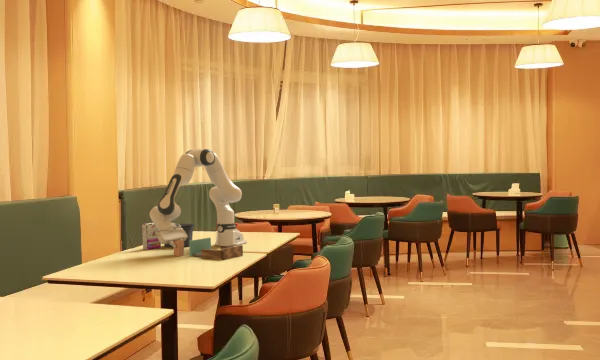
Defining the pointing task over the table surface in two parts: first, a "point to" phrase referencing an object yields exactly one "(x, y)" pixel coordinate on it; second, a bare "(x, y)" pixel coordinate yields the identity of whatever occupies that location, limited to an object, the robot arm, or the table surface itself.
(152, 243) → the candy bar box
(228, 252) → the dock
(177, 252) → the terracotta block
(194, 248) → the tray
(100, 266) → the table surface
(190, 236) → the storage bin
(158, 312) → the table surface
